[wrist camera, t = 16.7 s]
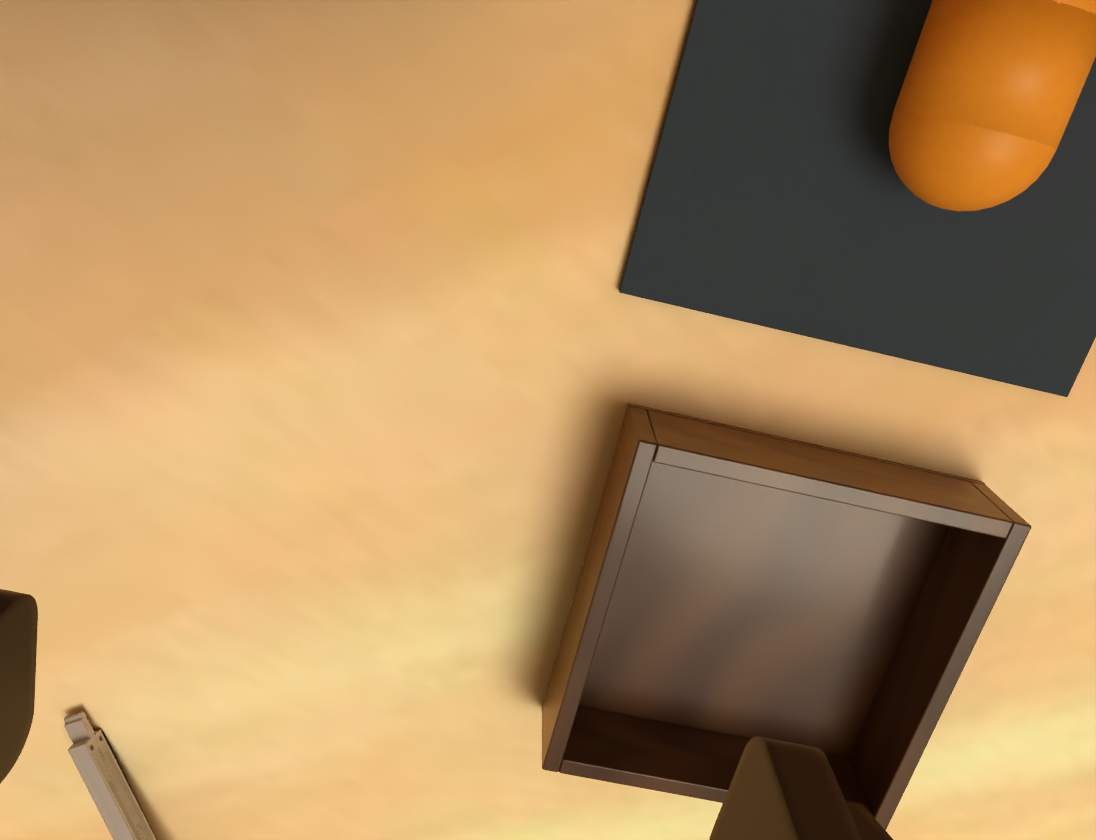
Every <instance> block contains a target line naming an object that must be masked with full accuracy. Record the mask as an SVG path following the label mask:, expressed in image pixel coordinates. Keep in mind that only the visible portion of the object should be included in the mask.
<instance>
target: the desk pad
mask: <svg viewBox="0 0 1096 840" xmlns="http://www.w3.org/2000/svg"><path fill="white" fill-rule="evenodd" d="M931 3H932V0H696V4H695V8H694V11H693V15H692V19H691V22H690V26H689V30H688V34H687V37H686V41H685V45H684V49H683V52H682V56H681V60H680V63H679V67H678V71H677V75H676V78H675V82H674V86H673V90H672V93H671V97H670V101H669V105H668V108H667V112H666V116H665V119H664V123H663V127H662V131H661V134H660V138H659V142H658V146H657V149H656V153H655V157H654V160H653V164H652V168H651V172H650V175H649V179H648V183H647V187H646V190H645V194H644V198H643V202H642V205H641V209H640V213H639V216H638V220H637V224H636V228H635V231H634V235H633V239H632V243H631V246H630V250H629V254H628V258H627V261H626V265H625V269H624V272H623V276H622V280H621V284H620V287H619V292H620V293H624V294H629V295H633V296H637V297H641V298H646V299H650V300H654V301H659V302H663V303H667V304H671V305H676V306H680V307H684V308H689V309H693V310H697V311H701V312H706V313H710V314H714V315H718V316H723V317H727V318H731V319H736V320H740V321H744V322H748V323H753V324H757V325H761V326H766V327H770V328H774V329H778V330H783V331H787V332H791V333H795V334H800V335H804V336H808V337H813V338H817V339H821V340H825V341H830V342H834V343H838V344H843V345H847V346H851V347H855V348H860V349H864V350H868V351H872V352H877V353H881V354H885V355H890V356H894V357H898V358H902V359H907V360H911V361H915V362H920V363H924V364H928V365H932V366H937V367H941V368H945V369H949V370H954V371H958V372H962V373H967V374H971V375H975V376H979V377H984V378H988V379H992V380H997V381H1001V382H1005V383H1009V384H1014V385H1018V386H1022V387H1026V388H1031V389H1035V390H1039V391H1044V392H1048V393H1052V394H1056V395H1061V396H1065V397H1067V396H1068V395H1069V392H1070V390H1071V388H1072V386H1073V384H1074V382H1075V380H1076V377H1077V375H1078V373H1079V371H1080V369H1081V367H1082V365H1083V363H1084V360H1085V358H1086V356H1087V354H1088V352H1089V350H1090V348H1091V346H1092V343H1093V341H1094V339H1095V337H1096V57H1095V60H1094V62H1093V64H1092V67H1091V69H1090V72H1089V74H1088V76H1087V79H1086V81H1085V83H1084V86H1083V88H1082V91H1081V93H1080V95H1079V98H1078V100H1077V103H1076V105H1075V107H1074V110H1073V112H1072V114H1071V117H1070V119H1069V122H1068V124H1067V126H1066V129H1065V131H1064V134H1063V136H1062V138H1061V141H1060V143H1059V145H1058V148H1057V150H1056V152H1055V154H1054V156H1053V157H1052V159H1051V161H1050V163H1049V165H1048V166H1047V168H1046V169H1045V170H1044V171H1043V173H1042V174H1041V175H1040V176H1039V178H1038V179H1037V180H1036V181H1035V182H1034V183H1032V184H1031V185H1030V186H1029V187H1028V188H1027V189H1026V190H1025V191H1023V192H1022V193H1020V194H1018V195H1017V196H1015V197H1014V198H1012V199H1010V200H1009V201H1006V202H1004V203H1001V204H999V205H996V206H994V207H991V208H986V209H982V210H977V211H952V210H946V209H941V208H939V207H936V206H933V205H930V204H928V203H926V202H925V201H923V200H921V199H920V198H918V197H917V196H915V195H914V194H913V193H912V192H911V191H910V190H909V189H908V188H907V187H906V186H905V185H904V184H903V182H902V181H901V179H900V178H899V176H898V175H897V173H896V171H895V168H894V166H893V163H892V161H891V156H890V150H889V128H890V124H891V120H892V116H893V111H894V108H895V106H896V103H897V100H898V97H899V94H900V91H901V88H902V86H903V83H904V80H905V77H906V74H907V71H908V69H909V66H910V63H911V60H912V57H913V54H914V52H915V49H916V46H917V43H918V40H919V37H920V34H921V32H922V29H923V26H924V23H925V20H926V17H927V15H928V12H929V9H930V6H931Z"/></svg>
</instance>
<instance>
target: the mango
mask: <svg viewBox="0 0 1096 840" xmlns="http://www.w3.org/2000/svg"><path fill="white" fill-rule="evenodd" d="M1095 57H1096V0H932V3H931V6H930V9H929V12H928V15H927V17H926V20H925V23H924V26H923V29H922V32H921V34H920V37H919V40H918V43H917V46H916V49H915V52H914V54H913V57H912V60H911V63H910V66H909V69H908V71H907V74H906V77H905V80H904V83H903V86H902V88H901V91H900V94H899V97H898V100H897V103H896V106H895V108H894V111H893V116H892V120H891V124H890V128H889V150H890V156H891V161H892V163H893V166H894V168H895V171H896V173H897V175H898V176H899V178H900V179H901V181H902V182H903V184H904V185H905V186H906V187H907V188H908V189H909V190H910V191H911V192H912V193H913V194H914V195H915V196H917V197H918V198H920V199H921V200H923V201H925V202H926V203H928V204H930V205H933V206H936V207H939V208H941V209H946V210H952V211H977V210H982V209H986V208H991V207H994V206H996V205H999V204H1001V203H1004V202H1006V201H1009V200H1010V199H1012V198H1014V197H1015V196H1017V195H1018V194H1020V193H1022V192H1023V191H1025V190H1026V189H1027V188H1028V187H1029V186H1030V185H1031V184H1032V183H1034V182H1035V181H1036V180H1037V179H1038V178H1039V176H1040V175H1041V174H1042V173H1043V171H1044V170H1045V169H1046V168H1047V166H1048V165H1049V163H1050V161H1051V159H1052V157H1053V156H1054V154H1055V152H1056V150H1057V148H1058V145H1059V143H1060V141H1061V138H1062V136H1063V134H1064V131H1065V129H1066V126H1067V124H1068V122H1069V119H1070V117H1071V114H1072V112H1073V110H1074V107H1075V105H1076V103H1077V100H1078V98H1079V95H1080V93H1081V91H1082V88H1083V86H1084V83H1085V81H1086V79H1087V76H1088V74H1089V72H1090V69H1091V67H1092V64H1093V62H1094V60H1095Z"/></svg>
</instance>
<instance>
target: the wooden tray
mask: <svg viewBox="0 0 1096 840" xmlns="http://www.w3.org/2000/svg"><path fill="white" fill-rule="evenodd" d="M1030 529H1031V526H1030V525H1029V524H1028V523H1027V522H1026V521H1025V520H1024V519H1023V518H1022V517H1020V516H1019V515H1018V514H1017V513H1016V512H1015V511H1014V510H1013V509H1011V508H1010V507H1009V506H1008V505H1007V504H1006V503H1005V502H1004V501H1003V500H1001V499H1000V498H999V497H998V496H997V495H996V494H995V493H994V492H993V491H991V490H990V489H989V488H988V487H987V486H986V485H985V484H984V483H983V482H979V481H975V480H970V479H966V478H961V477H957V476H952V475H948V474H944V473H939V472H935V471H930V470H926V469H921V468H917V467H912V466H908V465H903V464H899V463H894V462H890V461H885V460H881V459H876V458H872V457H867V456H863V455H858V454H854V453H849V452H845V451H840V450H836V449H831V448H827V447H822V446H818V445H813V444H809V443H804V442H800V441H795V440H791V439H786V438H782V437H777V436H773V435H768V434H764V433H759V432H755V431H750V430H746V429H741V428H737V427H732V426H728V425H723V424H719V423H715V422H710V421H706V420H701V419H697V418H692V417H688V416H683V415H679V414H674V413H670V412H665V411H661V410H656V409H652V408H647V407H643V406H638V405H634V404H628V407H627V410H626V414H625V417H624V421H623V424H622V428H621V431H620V435H619V438H618V442H617V445H616V449H615V453H614V456H613V460H612V463H611V467H610V470H609V474H608V477H607V481H606V484H605V488H604V491H603V495H602V498H601V502H600V505H599V509H598V512H597V516H596V519H595V523H594V526H593V530H592V533H591V537H590V540H589V544H588V547H587V551H586V554H585V558H584V561H583V565H582V568H581V572H580V575H579V579H578V582H577V586H576V589H575V593H574V596H573V600H572V603H571V607H570V610H569V614H568V617H567V621H566V624H565V628H564V631H563V635H562V638H561V642H560V646H559V649H558V653H557V656H556V660H555V663H554V667H553V670H552V674H551V677H550V681H549V684H548V688H547V691H546V695H545V698H544V702H543V705H542V769H544V770H549V771H554V772H558V771H559V772H560V773H564V774H569V775H575V776H580V777H586V778H591V779H597V780H602V781H607V782H613V783H618V784H624V785H629V786H635V787H640V788H646V789H651V790H656V791H662V792H667V793H673V794H678V795H684V796H689V797H694V798H700V799H705V800H711V801H716V802H722V803H723V802H724V800H725V797H726V794H727V792H728V789H729V787H730V784H731V782H732V779H733V777H734V774H735V771H736V769H737V766H738V764H739V761H740V759H741V756H742V754H743V751H744V749H745V747H746V745H747V743H748V742H749V741H750V740H751V739H752V738H753V737H756V736H759V737H764V738H769V739H774V740H780V741H785V742H790V743H795V744H801V745H806V746H811V747H816V748H819V749H821V750H822V751H823V752H824V754H825V755H826V757H827V759H828V761H829V763H830V766H831V768H832V770H833V773H834V775H835V777H836V780H837V782H838V785H839V787H840V789H841V792H842V794H843V796H844V799H845V801H850V802H856V803H861V804H863V805H864V807H865V808H866V809H867V810H868V811H869V812H870V813H871V815H872V816H873V817H874V818H875V819H876V820H877V822H878V823H879V824H880V825H881V826H882V827H883V829H884V830H885V831H886V828H887V826H888V824H889V822H890V820H891V818H892V816H893V814H894V812H895V810H896V808H897V806H898V803H899V801H900V799H901V797H902V795H903V793H904V791H905V789H906V787H907V785H908V783H909V781H910V778H911V776H912V774H913V772H914V770H915V768H916V766H917V764H918V762H919V760H920V758H921V756H922V754H923V751H924V749H925V747H926V745H927V743H928V741H929V739H930V737H931V735H932V733H933V731H934V729H935V726H936V724H937V722H938V720H939V718H940V716H941V714H942V712H943V710H944V708H945V706H946V704H947V702H948V699H949V697H950V695H951V693H952V691H953V689H954V687H955V685H956V683H957V681H958V679H959V677H960V674H961V672H962V670H963V668H964V666H965V664H966V662H967V660H968V658H969V656H970V654H971V652H972V650H973V647H974V645H975V643H976V641H977V639H978V637H979V635H980V633H981V631H982V629H983V627H984V625H985V622H986V620H987V618H988V616H989V614H990V612H991V610H992V608H993V606H994V604H995V602H996V600H997V597H998V595H999V593H1000V591H1001V589H1002V587H1003V585H1004V583H1005V581H1006V579H1007V577H1008V575H1009V573H1010V570H1011V568H1012V566H1013V564H1014V562H1015V560H1016V558H1017V556H1018V554H1019V552H1020V550H1021V548H1022V545H1023V543H1024V541H1025V539H1026V537H1027V535H1028V533H1029V531H1030Z"/></svg>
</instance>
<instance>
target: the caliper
mask: <svg viewBox="0 0 1096 840" xmlns="http://www.w3.org/2000/svg"><path fill="white" fill-rule="evenodd" d="M64 721H65V728H66V730H67V732H68V734H69V736H70V738H71V740H72V742H73V745H72V746H71V747H70V748H69V749H68V751H69V753H70V755H71V757H72V759H73V761H74V763H75V765H76V767H77V769H78V771H79V773H80V775H81V777H82V779H83V781H84V783H85V785H86V786H87V788H88V790H89V792H90V794H91V796H92V798H93V800H94V802H95V804H96V806H97V808H98V810H99V812H100V814H101V816H102V818H103V820H104V822H105V824H106V826H107V828H108V830H109V831H110V833H111V835H112V837H113V839H114V840H157V839H156V837H155V835H154V833H153V831H152V829H151V827H150V825H149V823H148V821H147V819H146V817H145V815H144V813H143V811H142V809H141V807H140V805H139V803H138V801H137V799H136V797H135V795H134V793H133V791H132V789H131V787H130V785H129V782H128V780H127V778H126V776H125V774H124V772H123V770H122V768H121V766H120V764H119V762H118V760H117V758H116V756H115V754H114V752H113V750H112V748H111V746H110V744H109V742H108V740H107V738H106V736H105V734H104V732H103V731H102V730H101V729H100V730H97V731H94V730H93V728H92V726H91V723H90V721H89V719H88V717H87V716H86V714H85V713H84V712H83V711H82V712H79V713H76V714H73V715H70V716H67V717H65V719H64Z"/></svg>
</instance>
